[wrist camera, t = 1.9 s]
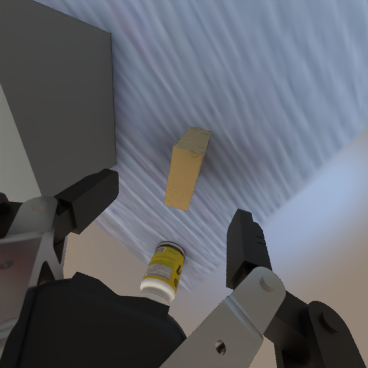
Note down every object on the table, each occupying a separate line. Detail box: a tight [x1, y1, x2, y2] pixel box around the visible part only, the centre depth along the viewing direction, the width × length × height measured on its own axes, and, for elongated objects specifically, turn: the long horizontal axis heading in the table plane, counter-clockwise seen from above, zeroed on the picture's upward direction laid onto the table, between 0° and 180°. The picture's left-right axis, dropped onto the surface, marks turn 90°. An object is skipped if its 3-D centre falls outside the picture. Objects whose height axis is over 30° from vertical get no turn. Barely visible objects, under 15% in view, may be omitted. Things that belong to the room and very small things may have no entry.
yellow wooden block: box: [164, 126, 211, 211], centre depth 14 cm, size 5×2×6 cm, turn 169°
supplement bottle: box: [138, 242, 185, 308], centre depth 23 cm, size 5×5×8 cm
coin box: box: [0, 0, 116, 203], centre depth 13 cm, size 12×12×9 cm
